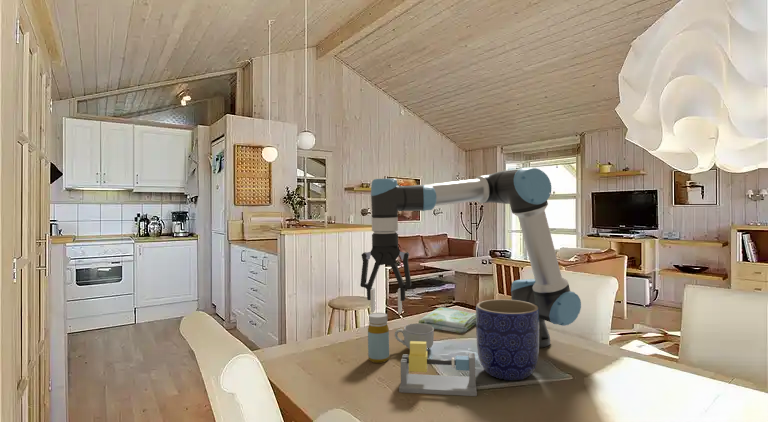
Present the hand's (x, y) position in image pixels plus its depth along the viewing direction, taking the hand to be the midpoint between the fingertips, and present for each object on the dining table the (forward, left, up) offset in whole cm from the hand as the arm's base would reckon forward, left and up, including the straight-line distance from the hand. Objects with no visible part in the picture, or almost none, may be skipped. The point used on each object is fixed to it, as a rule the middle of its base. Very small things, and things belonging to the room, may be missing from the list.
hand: (386, 311), depth 126 cm
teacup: (-5, -30, -21) cm, 37 cm away
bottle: (+6, -19, -21) cm, 29 cm away
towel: (-17, -63, -22) cm, 69 cm away
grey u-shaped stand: (-15, 0, -21) cm, 26 cm away
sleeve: (-9, 0, -16) cm, 19 cm away
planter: (-35, -12, -21) cm, 43 cm away
